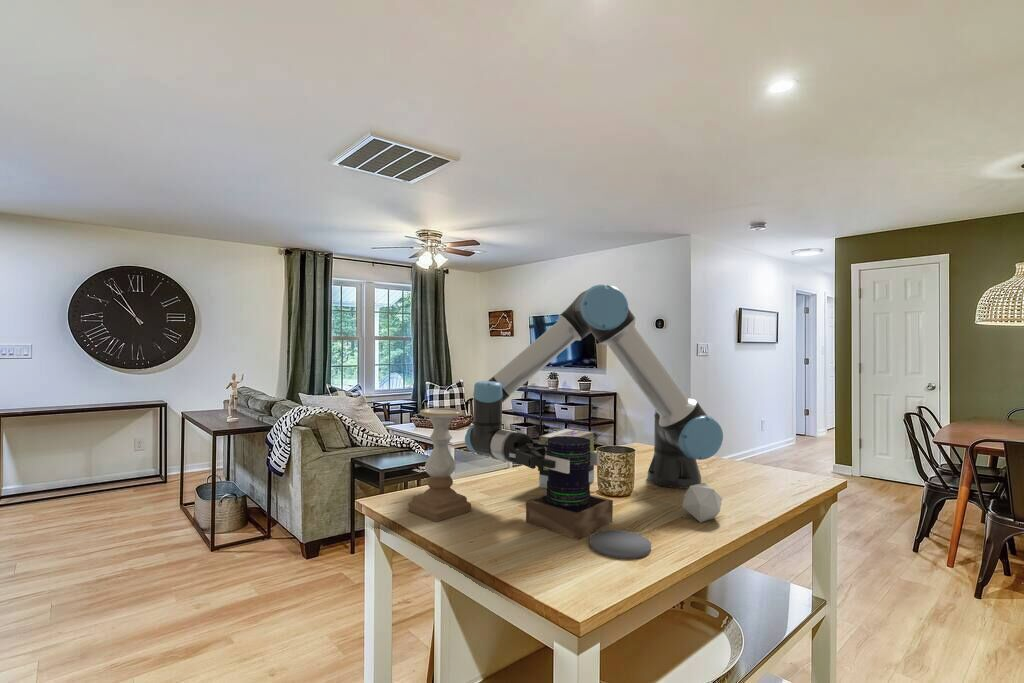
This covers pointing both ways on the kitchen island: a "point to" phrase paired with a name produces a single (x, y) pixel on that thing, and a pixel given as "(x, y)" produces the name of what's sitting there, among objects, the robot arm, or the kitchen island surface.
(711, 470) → the kitchen island surface
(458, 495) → the candle holder
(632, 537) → the rubber pad
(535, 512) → the walnut open box
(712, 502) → the die
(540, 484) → the tea box
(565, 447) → the dark blue cylinder
